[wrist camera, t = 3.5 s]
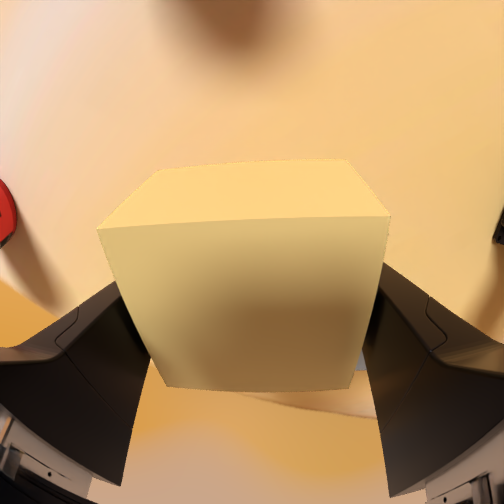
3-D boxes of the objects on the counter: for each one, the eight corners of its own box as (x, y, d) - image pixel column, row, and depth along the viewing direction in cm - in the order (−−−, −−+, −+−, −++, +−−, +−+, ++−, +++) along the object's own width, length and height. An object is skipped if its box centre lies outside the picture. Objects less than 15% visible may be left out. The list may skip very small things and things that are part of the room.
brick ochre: (345, 159, 8) (390, 215, 5) (333, 305, 12) (348, 388, 8) (157, 170, 9) (96, 229, 6) (190, 307, 12) (166, 386, 9)
